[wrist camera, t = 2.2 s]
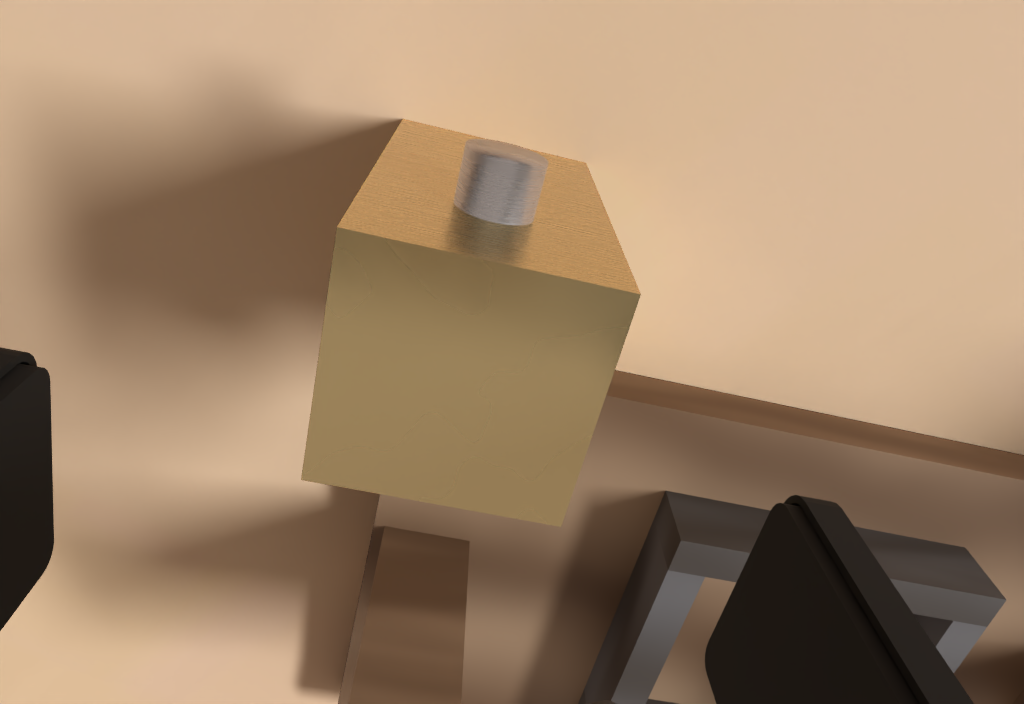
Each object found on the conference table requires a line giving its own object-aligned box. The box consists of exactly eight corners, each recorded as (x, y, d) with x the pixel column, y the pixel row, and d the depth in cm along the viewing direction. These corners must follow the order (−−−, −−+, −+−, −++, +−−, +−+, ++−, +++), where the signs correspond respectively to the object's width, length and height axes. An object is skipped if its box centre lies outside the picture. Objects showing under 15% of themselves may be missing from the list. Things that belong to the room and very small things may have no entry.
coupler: (410, 74, 17) (346, 155, 10) (597, 120, 18) (663, 229, 11) (367, 324, 20) (294, 526, 13) (530, 359, 21) (546, 570, 13)
